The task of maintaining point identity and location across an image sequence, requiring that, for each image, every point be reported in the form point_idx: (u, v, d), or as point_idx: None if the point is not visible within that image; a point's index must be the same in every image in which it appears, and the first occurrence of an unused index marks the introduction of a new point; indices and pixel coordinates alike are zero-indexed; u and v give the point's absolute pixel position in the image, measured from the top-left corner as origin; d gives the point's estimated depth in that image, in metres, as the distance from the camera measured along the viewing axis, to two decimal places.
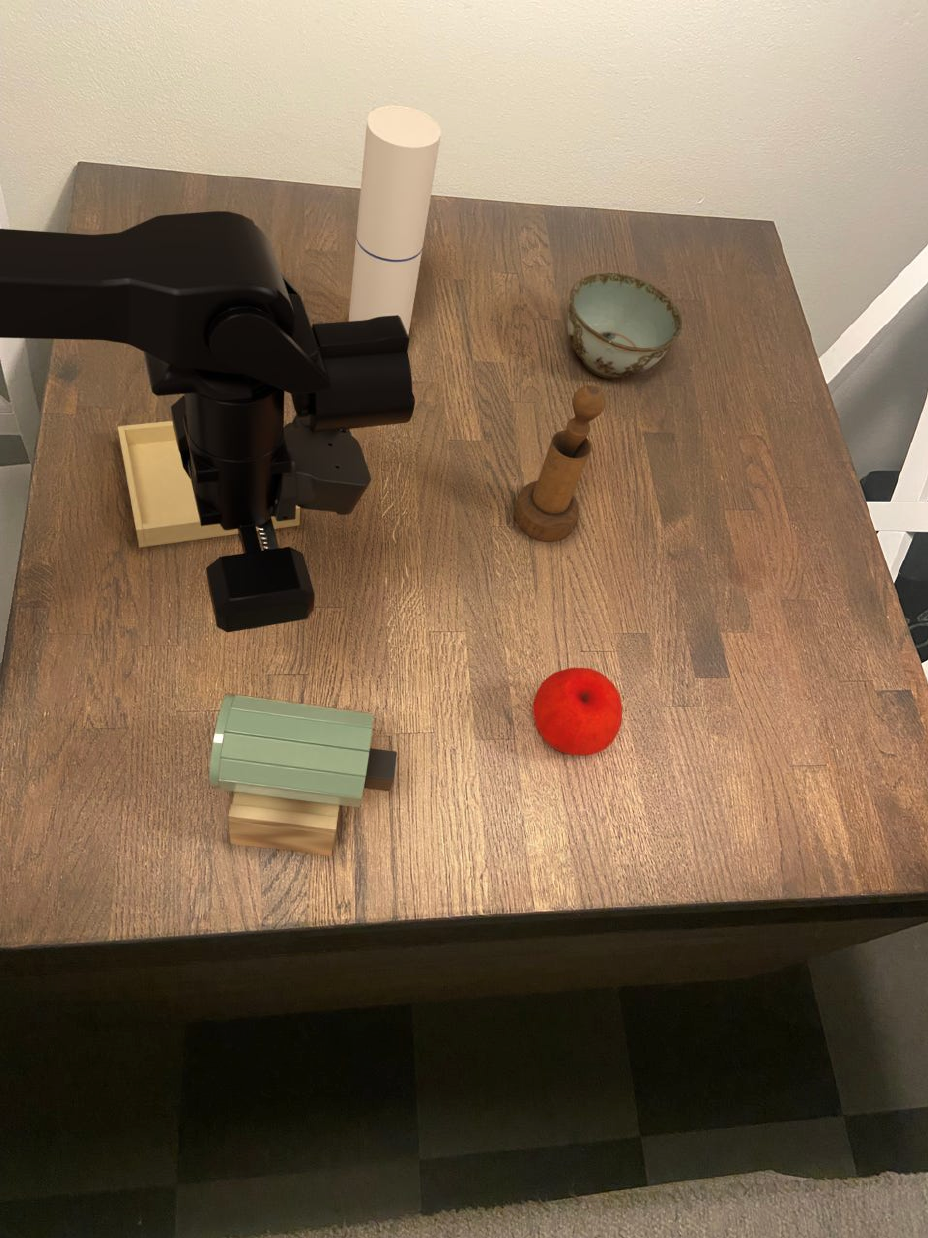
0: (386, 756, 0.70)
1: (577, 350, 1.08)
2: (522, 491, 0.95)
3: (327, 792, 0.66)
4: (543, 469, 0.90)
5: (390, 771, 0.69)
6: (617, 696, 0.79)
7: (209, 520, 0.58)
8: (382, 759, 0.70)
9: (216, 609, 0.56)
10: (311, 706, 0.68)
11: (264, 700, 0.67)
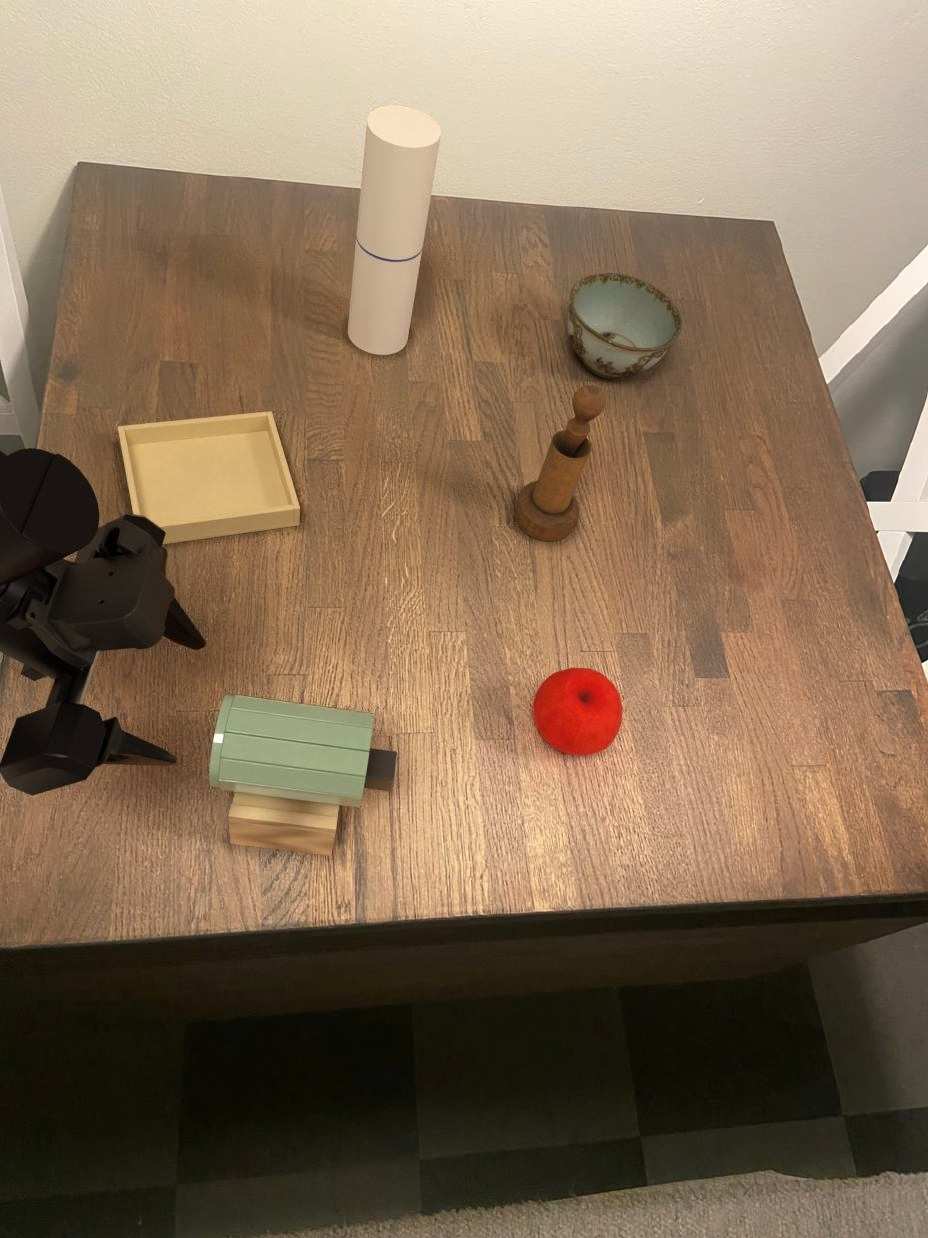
0: (386, 756, 0.70)
1: (577, 350, 1.08)
2: (522, 491, 0.95)
3: (327, 792, 0.66)
4: (543, 469, 0.90)
5: (390, 771, 0.69)
6: (617, 696, 0.79)
7: (33, 675, 0.57)
8: (382, 759, 0.70)
9: (2, 776, 0.54)
10: (311, 706, 0.68)
11: (264, 700, 0.67)
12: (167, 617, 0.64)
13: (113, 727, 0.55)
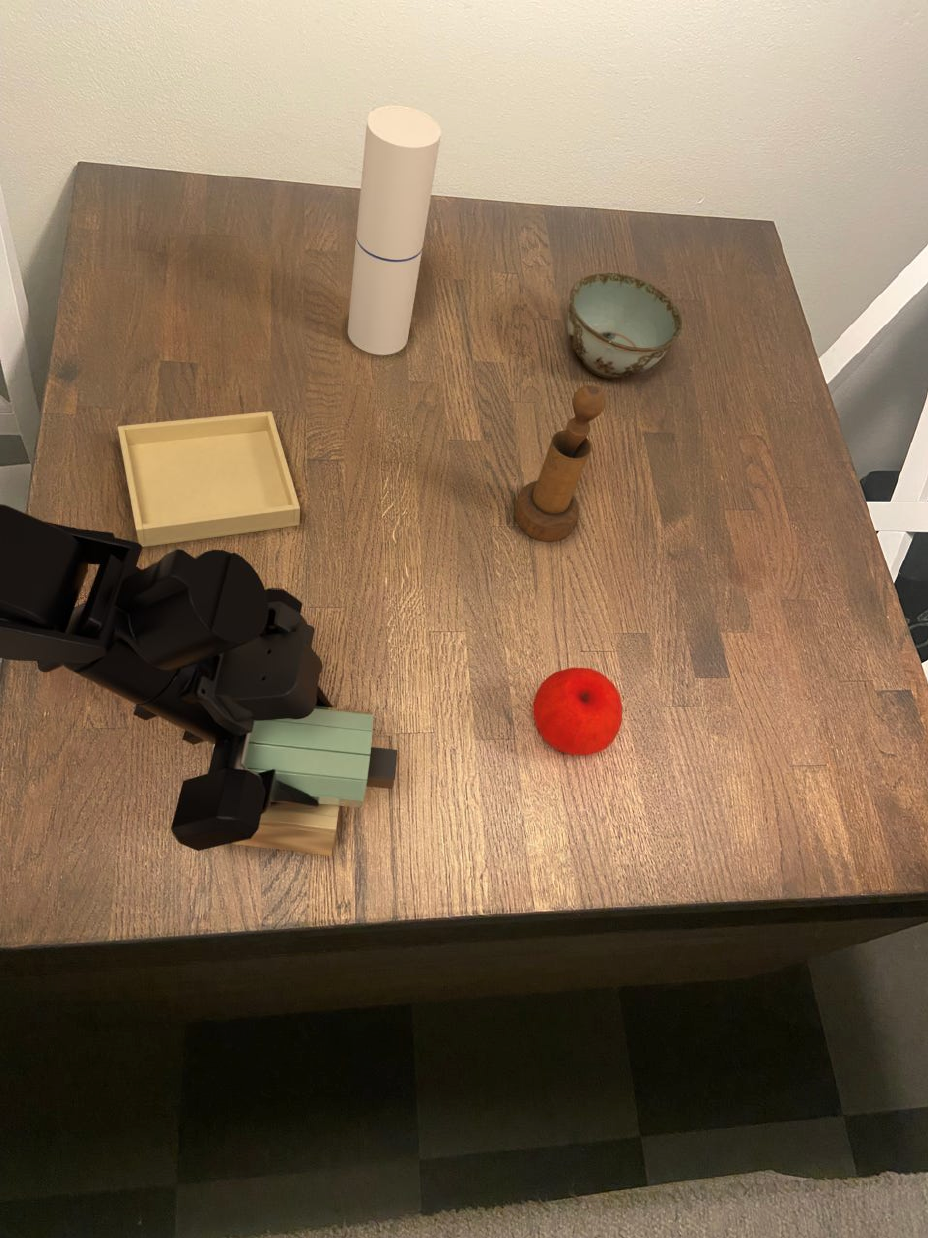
0: (387, 755, 0.70)
1: (577, 350, 1.08)
2: (522, 491, 0.95)
3: (329, 795, 0.66)
4: (543, 469, 0.90)
5: (391, 770, 0.69)
6: (617, 696, 0.79)
7: (193, 740, 0.63)
8: (382, 757, 0.70)
9: None
10: None
11: None
12: None
13: (272, 779, 0.61)
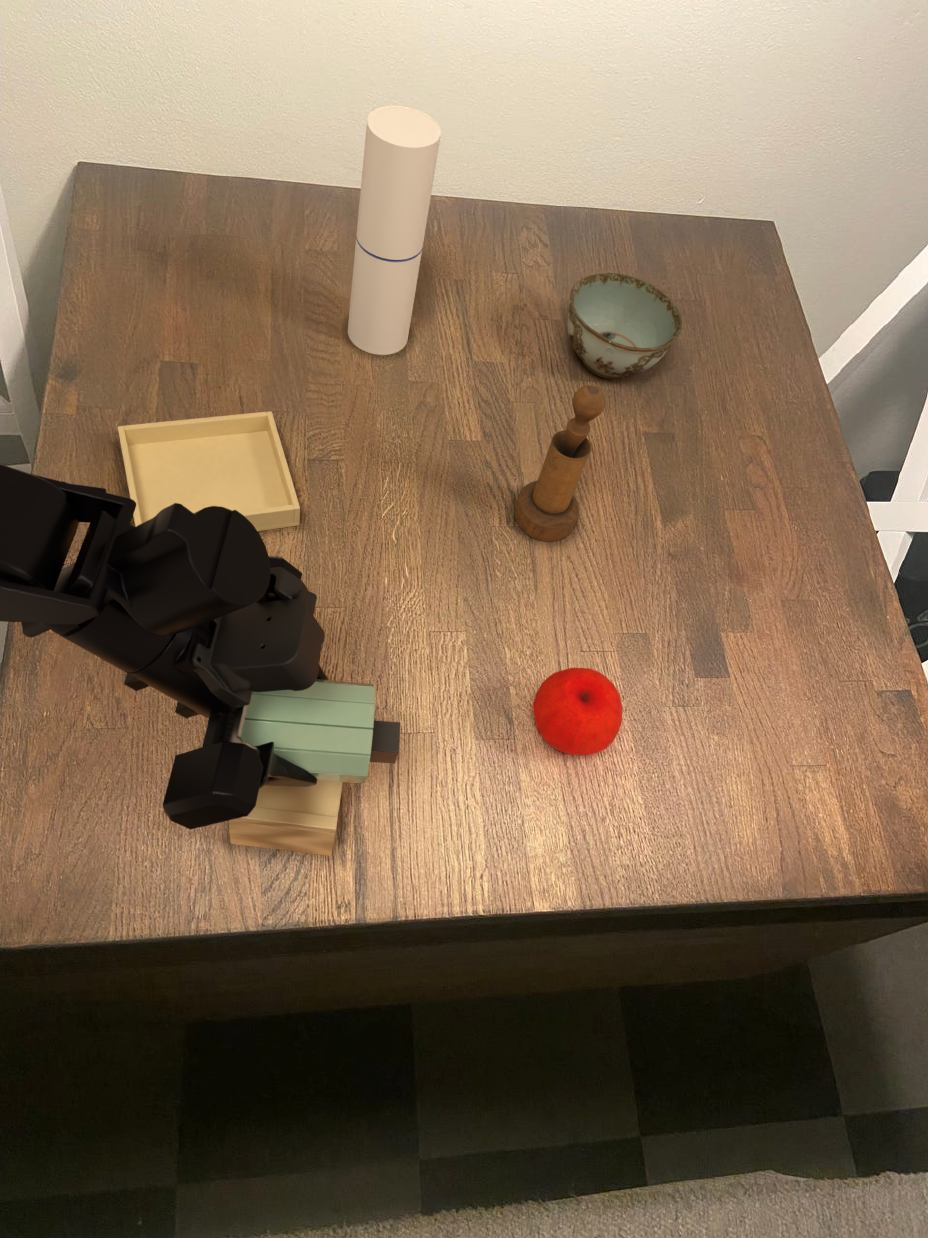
0: (389, 728, 0.67)
1: (577, 350, 1.08)
2: (522, 491, 0.95)
3: (331, 772, 0.63)
4: (543, 469, 0.90)
5: (394, 743, 0.67)
6: (617, 696, 0.79)
7: (187, 713, 0.60)
8: (385, 731, 0.67)
9: (164, 811, 0.57)
10: None
11: None
12: None
13: (271, 752, 0.58)
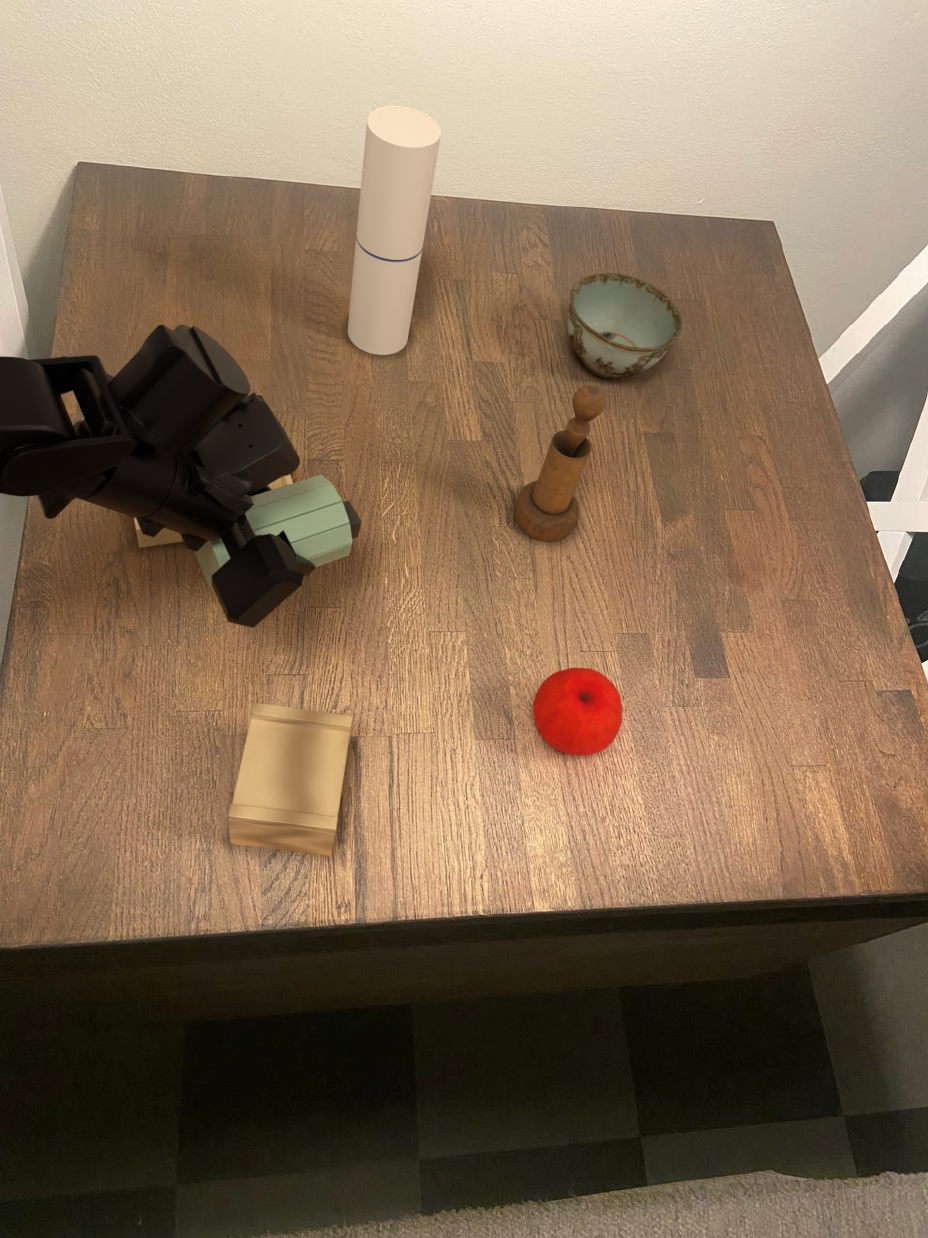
0: None
1: (577, 350, 1.08)
2: (522, 491, 0.95)
3: (324, 551, 0.74)
4: (543, 469, 0.90)
5: (354, 516, 0.77)
6: (617, 696, 0.79)
7: (197, 545, 0.67)
8: None
9: (227, 620, 0.65)
10: (269, 491, 0.73)
11: None
12: None
13: (287, 537, 0.67)
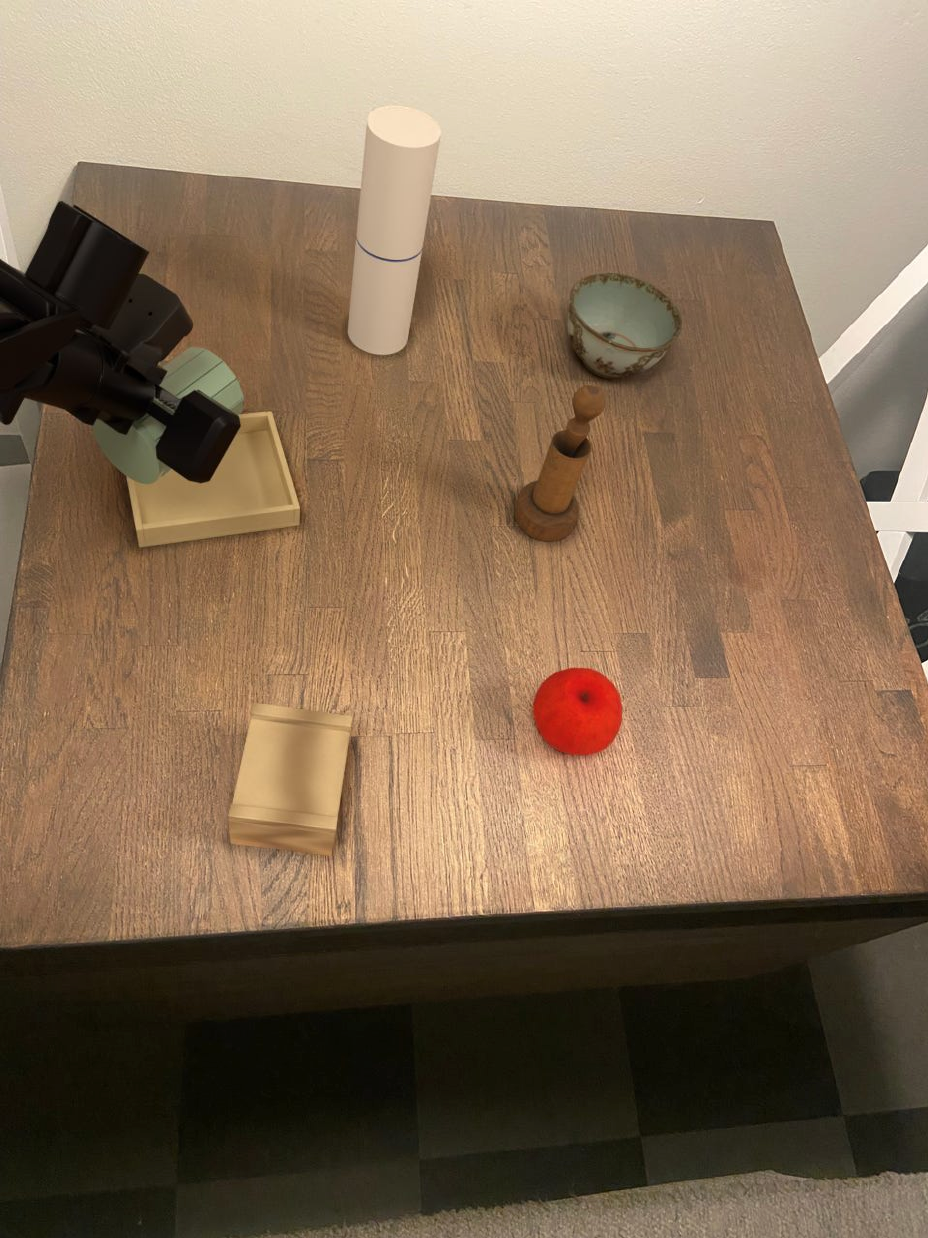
0: None
1: (577, 350, 1.08)
2: (522, 491, 0.95)
3: None
4: (543, 469, 0.90)
5: None
6: (617, 696, 0.79)
7: (126, 427, 0.71)
8: None
9: (188, 479, 0.71)
10: None
11: None
12: None
13: None
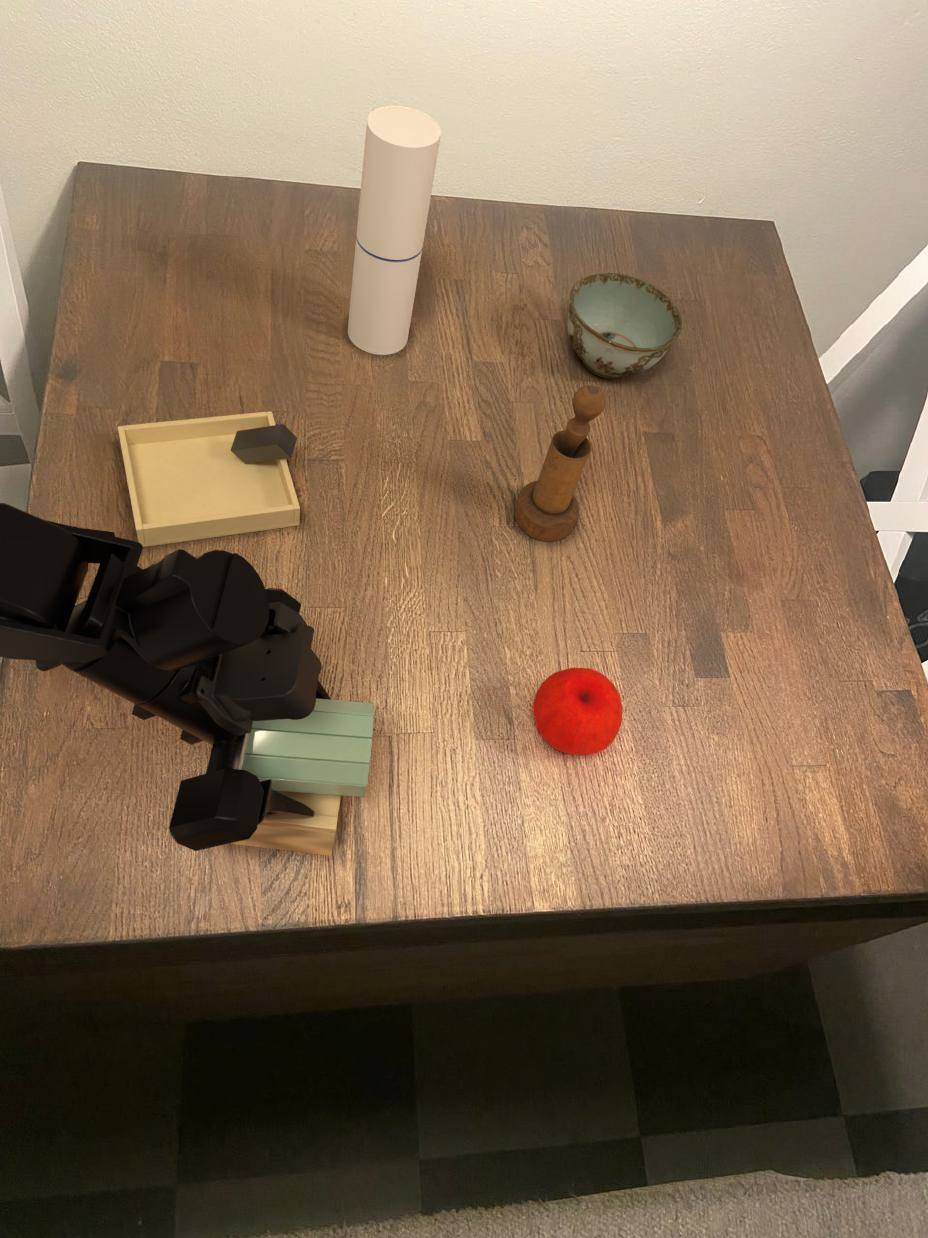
0: None
1: (577, 350, 1.08)
2: (522, 491, 0.95)
3: (332, 782, 0.66)
4: (543, 469, 0.90)
5: None
6: (617, 696, 0.79)
7: (191, 740, 0.63)
8: None
9: (170, 834, 0.60)
10: None
11: None
12: None
13: (269, 789, 0.60)
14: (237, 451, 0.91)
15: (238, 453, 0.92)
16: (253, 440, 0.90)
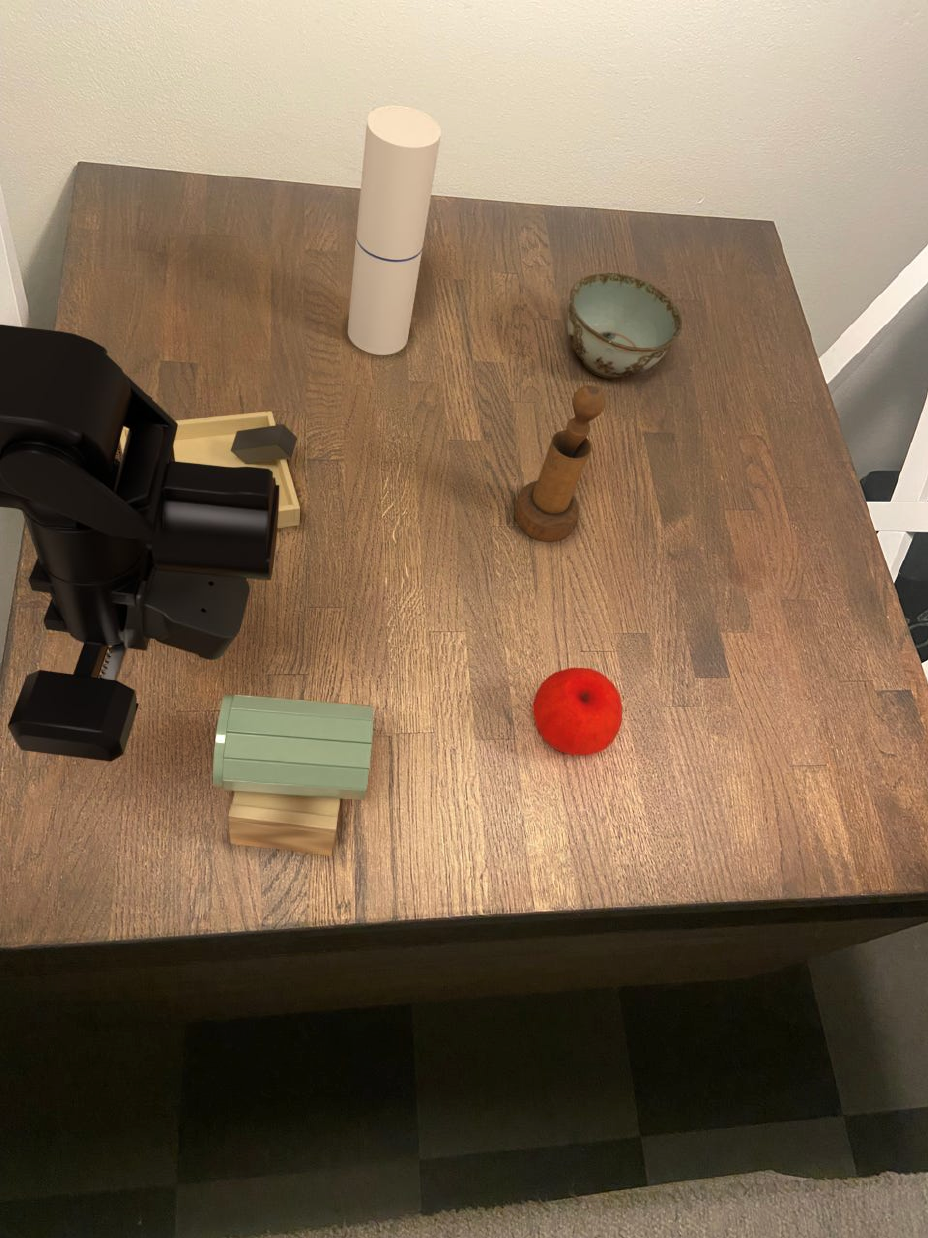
0: None
1: (577, 350, 1.08)
2: (522, 491, 0.95)
3: (332, 786, 0.66)
4: (543, 469, 0.90)
5: None
6: (617, 696, 0.79)
7: (54, 626, 0.55)
8: None
9: (8, 725, 0.51)
10: (310, 702, 0.68)
11: (263, 698, 0.67)
12: None
13: (135, 713, 0.56)
14: (237, 452, 0.91)
15: (238, 453, 0.92)
16: (253, 441, 0.90)
